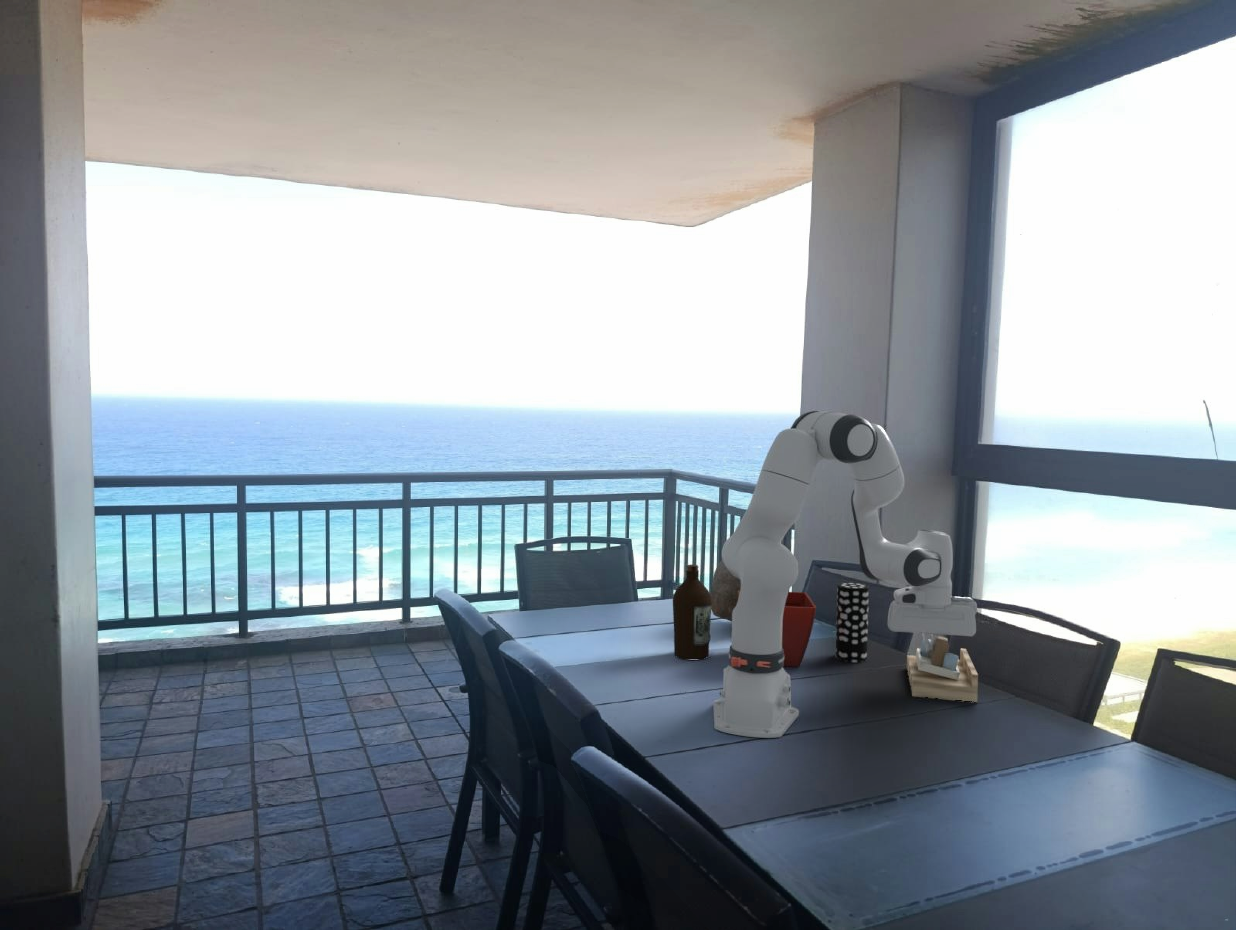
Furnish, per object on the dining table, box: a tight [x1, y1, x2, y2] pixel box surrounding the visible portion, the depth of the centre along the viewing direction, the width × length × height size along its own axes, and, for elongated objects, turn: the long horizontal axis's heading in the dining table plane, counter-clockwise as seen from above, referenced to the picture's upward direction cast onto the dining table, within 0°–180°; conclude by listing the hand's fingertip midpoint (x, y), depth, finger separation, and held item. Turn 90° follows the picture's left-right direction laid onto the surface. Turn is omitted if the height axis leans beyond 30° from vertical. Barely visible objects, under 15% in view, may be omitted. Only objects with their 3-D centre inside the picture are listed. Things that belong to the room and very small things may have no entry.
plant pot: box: [738, 590, 817, 667], centre depth 211 cm, size 19×19×17 cm
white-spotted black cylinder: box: [835, 582, 870, 663], centre depth 213 cm, size 8×8×20 cm
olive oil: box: [672, 564, 712, 660], centre depth 214 cm, size 11×11×25 cm
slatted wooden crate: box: [906, 648, 979, 703], centre depth 192 cm, size 22×14×6 cm, turn 163°
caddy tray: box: [914, 635, 960, 680], centre depth 192 cm, size 13×9×7 cm
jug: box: [710, 554, 741, 623], centre depth 242 cm, size 24×21×30 cm
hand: (930, 650), depth 193 cm, fingers closed, pressing on caddy tray
